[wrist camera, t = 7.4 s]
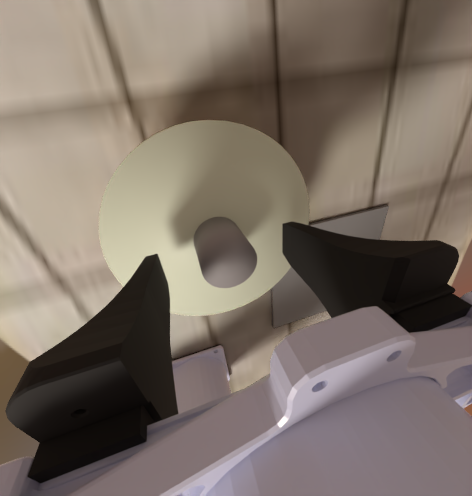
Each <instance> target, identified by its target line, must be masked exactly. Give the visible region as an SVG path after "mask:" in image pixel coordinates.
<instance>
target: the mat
mask: <svg viewBox="0 0 472 496" xmlns="http://www.w3.org/2000/svg"><path fill="white" fill-rule="evenodd" d="M388 207H389V206H387V205H384V206H380V207H376V208H372V209H367V210H363V211H359V212H355V213H351V214H347V215H343V216H339V217H335V218H331V219H327V220H323V221H319V222H315V223H311V224H309V226H312V227H316V228H319V229H323V230H326V231H330V232H334V233H338V234H343V235H348V236H353V237H359V238H367V239H376V240H380V237H381V233H382V229H383V226H384V222H385V218H386V215H387V211H388ZM324 311H327V310H326V308H325V307H324V306H323V304H322V303H321V301H320V300H319V298H318V297H317V296H316V294H315V293H314V292H313V291H312V290H311V288H310V287H309V286H308V285H307V284H306V283H305V282H304V281H303V279H302V278H301V277H300V276H299V275H298V274H297V273H296V271H295V270H294V269H293V268H292V267H291V268H290V269H289V270H288V272H287V273H286V274H285V275H284V276H283V277H282V279H281V280H280V281H279V282H278V283H277V284H276V285H274V286H273V287H272V321H273V328H276V327H279V326H282V325H285V324H288V323H291V322H294V321H297V320H300V319H303V318H306V317H309V316H312V315H315V314H318V313H321V312H324Z"/></svg>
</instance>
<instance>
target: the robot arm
mask: <svg viewBox="0 0 472 496" xmlns="http://www.w3.org/2000/svg"><path fill="white" fill-rule="evenodd" d="M282 253H283V255H284V256H285V258H286V260H287V261H288V263H289V264H290V266H291V267H292V268H293V269H294V270H295V271H296V273H297V274H298V275H299V276H300V277H301V278H302V279H303V281H304V282H305V283H306V284H307V285H308V286H309V287H310V288H311V290H312V291H313V292H314V293H315V294H316V296H317V297H318V298H319V300H320V301H321V303H322V304H323V306H324V307H325V308H326V310H327V311H328V313H329V315H330V316H331V319H328V320H325V321H322V322H319V323H316V324H313V325H310V326H307V327H304V328H302V329H299V330H297V331H295V332H293V333H291V334H289V335H288V336H286V337H285V338H284V339H283V340H282V341H281V342H280V343H279V344H278V345H277V346H276V347H275V349H274V351H273V354H272V357H271V360H270V367H271V372H270V374H268V375H266V376H265V377H263V378H261V379H260V380H258V381H256V382H255V383H253V384H251V385H250V386H248V387H246V388H245V389H242V390H240V391H237V392H234V393H232V394H231V390H230V386H229V382H228V381H229V380H230V376H229V372H228V367H227V363H226V358H225V354H224V349H223V346H221V345H219V346H216V347H213V348H210V349H207V350H204V351H201V352H198V353H195V354H192V355H189V356H186V357H183V358H180V359H177V360H174V361H172V358H171V348H170V294H169V287H168V282H167V279H166V276H165V273H164V270H163V268H162V265H161V262H160V259H159V256H158V254H154V255H150V256H146V257H145V258H144V260H143V261H142V263H141V264H140V265H139V267H138V268H137V270H136V271H135V273H134V274H133V276H132V277H131V278H130V280H129V281H128V282H127V283H126V285H125V286H124V287H123V288H122V290H121V291H120V292H119V293H118V294H117V295H116V296H115V298H114V299H113V300H112V301H111V302H110V303H109V304H108V305H107V306H106V307H105V308H104V309H102V310H101V311H100V312H99V313H98V314H97V315H96V316H94V317H93V318H92V319H91V320H90V321H89V322H87V323H86V324H85V325H84V326H82V327H81V328H80V329H78V330H77V331H76V332H74V333H73V334H72V335H70V336H69V337H68V338H66V339H65V340H63V341H62V342H60V343H59V344H57V345H56V346H54V347H53V348H51V349H50V350H48V351H47V352H45V353H43V354H42V355H40V356H39V357H37V358H36V359H34V360H32V361H31V362H30V363H29V365H28V366H27V368H26V370H25V372H24V374H23V376H22V378H21V380H20V382H19V383H18V385H17V387H16V389H15V391H14V392H13V395H12V396H11V398H10V400H9V402H8V404H7V408H6V414H7V418H8V419H9V421H10V422H11V423H12V424H14V425H15V426H16V427H17V428H19V429H20V430H22V431H23V432H25V433H26V434H28V435H29V436H31V437H32V438H34V439H35V440H37V441H38V442H40V444H39V447H38V449H37V452H36V455H35V457H22V458H18V459H15V460H12V461H10V462H7V463H4V464H1V465H0V496H472V416H471V415H470V414H468V413H467V412H466V411H465V410H464V409H463V408H465V407H467V406H468V405H470V404H472V291H471V292H468V293H466V294H464V295H463V296H462V297H461V298H459V297H457V296H456V295H454V294H452V293H454V292H455V289H454V288H453V287H451V286H450V285H448V284H447V283H448V281H449V279H450V277H451V275H452V273H453V271H454V269H455V268H456V265H457V263H458V258H459V254H458V251H457V249H456V248H455V247H453V246H451V245H448V244H446V243H444V242H441V241H437V240H434V241H390V240H376V239H367V238H359V237H353V236H348V235H343V234H338V233H334V232H330V231H326V230H323V229H319V228H316V227H312V226H309V225H305V224H302V223H298V222H288V223H283V224H282Z"/></svg>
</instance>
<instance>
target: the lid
mask: <svg viewBox="0 0 472 496" xmlns="http://www.w3.org/2000/svg"><path fill="white" fill-rule="evenodd" d="M309 214H310V211H309V198H308V191H307V188H306V184H305V181H304V178H303V176H302V174H301V172H300V170H299V168H298V166H297V164H296V163H295V162H294V160H293V159H292V157H291V156H290V155H289V154H288V152H287V151H286V150H285V149H284V148H283V147H282V146H281V145H280V144H278V143H277V142H276V141H275V140H273V139H272V138H271V137H269V136H267V135H266V134H264V133H262V132H260V131H259V130H257V129H254V128H251V127H249V126H246V125H243V124H239V123H234V122H230V121H220V120H199V121H189V122H185V123H182V124H178V125H174V126H171V127H169V128H167V129H164V130H162V131H160V132H157V133H156V134H154V135H153V136H151V137H149V138H148V139H146V140H145V141H143V142H142V143H141V144H140V145H138V146H137V147H136V148H135V149H134V150H133V151H132V152H130V154H129V155H128V156H127V157H126V158H125V160H124V161H123V162H122V163H121V164H120V166H119V167H118V168H117V169H116V171H115V173H114V174H113V176H112V178H111V180H110V181H109V183H108V185H107V188H106V190H105V193H104V195H103V198H102V202H101V207H100V212H99V226H98V230H99V238H100V245H101V248H102V252H103V255H104V258H105V260H106V262H107V264H108V266H109V268H110V270H111V271H112V273H113V274H114V276H115V277H116V279H117V280H118V281H119V282H120V283H121V285H122V286H123V287H124V286H125V285H126V283H127V282H128V281H129V280H130V278H131V277H132V276H133V274H134V273H135V271H136V270H137V268H138V267H139V265H140V264H141V263H142V261H143V260H144V258H145V257H146V256H150V255H154V254H158V256H159V259H160V262H161V265H162V268H163V270H164V273H165V276H166V279H167V282H168V287H169V294H170V313H174V314H178V315H187V316H204V315H213V314H219V313H224V312H227V311H231V310H234V309H236V308H239V307H242V306H244V305H246V304H248V303H250V302H252V301H254V300H255V299H257V298H259V297H260V296H262V295H263V294H265V293H266V292H267V291H269V290H270V289H271V288H272V287H273V286H274V285H276V284H277V283H278V282H279V281H280V280H281V279H282V277H283V276H284V275H285V274H286V273H287V272H288V270H289V269H290V268H291V266H290V264H289V263H288V261H287V260H286V258H285V256H284V255H283V253H282V224H283V223H288V222H298V223H302V224H305V225H309Z"/></svg>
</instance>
